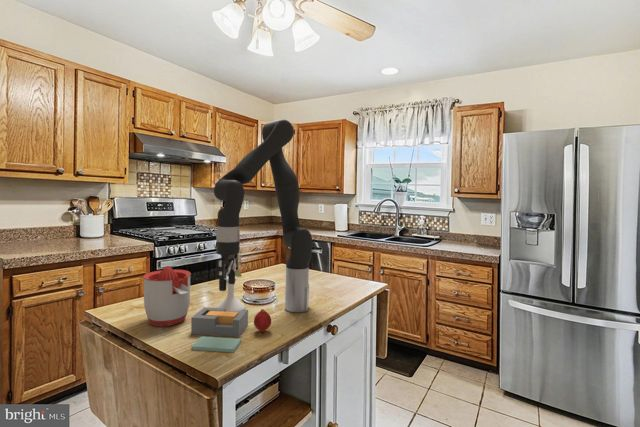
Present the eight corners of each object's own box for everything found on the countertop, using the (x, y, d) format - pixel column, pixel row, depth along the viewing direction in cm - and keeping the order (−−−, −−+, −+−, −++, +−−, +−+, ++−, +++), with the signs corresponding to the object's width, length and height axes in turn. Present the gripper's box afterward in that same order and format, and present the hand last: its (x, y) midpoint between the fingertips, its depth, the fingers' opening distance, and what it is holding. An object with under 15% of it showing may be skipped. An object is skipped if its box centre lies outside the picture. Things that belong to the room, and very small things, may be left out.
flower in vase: (210, 311, 132) (210, 248, 131) (237, 305, 140) (238, 245, 138) (224, 321, 122) (225, 253, 121) (252, 315, 130) (253, 250, 128)
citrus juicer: (163, 334, 110) (163, 274, 109) (133, 322, 119) (133, 266, 118) (203, 320, 123) (203, 265, 122) (173, 310, 133) (173, 259, 131)
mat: (241, 342, 107) (241, 338, 106) (234, 352, 100) (234, 349, 100) (201, 339, 108) (201, 336, 108) (191, 349, 101) (191, 346, 101)
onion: (254, 328, 117) (255, 305, 117) (271, 328, 118) (271, 305, 117) (252, 335, 111) (253, 311, 111) (270, 335, 112) (270, 311, 111)
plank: (238, 319, 117) (238, 312, 117) (234, 323, 113) (234, 316, 113) (210, 317, 118) (210, 310, 118) (205, 322, 114) (205, 314, 114)
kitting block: (247, 324, 120) (248, 309, 120) (238, 336, 110) (239, 320, 110) (204, 322, 121) (204, 307, 121) (191, 333, 111) (191, 317, 111)
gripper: (231, 243, 106) (230, 294, 107) (245, 237, 120) (244, 282, 121) (208, 242, 107) (207, 292, 108) (224, 236, 121) (224, 281, 122)
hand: (227, 287), depth 115 cm, fingers open, 8 cm apart
